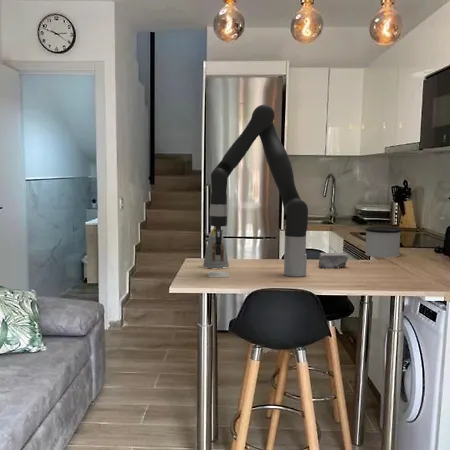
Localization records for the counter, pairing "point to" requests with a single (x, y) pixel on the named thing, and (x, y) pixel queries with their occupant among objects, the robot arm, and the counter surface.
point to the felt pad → (218, 274)
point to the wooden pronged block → (215, 251)
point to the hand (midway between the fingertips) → (217, 253)
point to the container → (382, 241)
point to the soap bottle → (208, 255)
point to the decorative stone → (332, 260)
